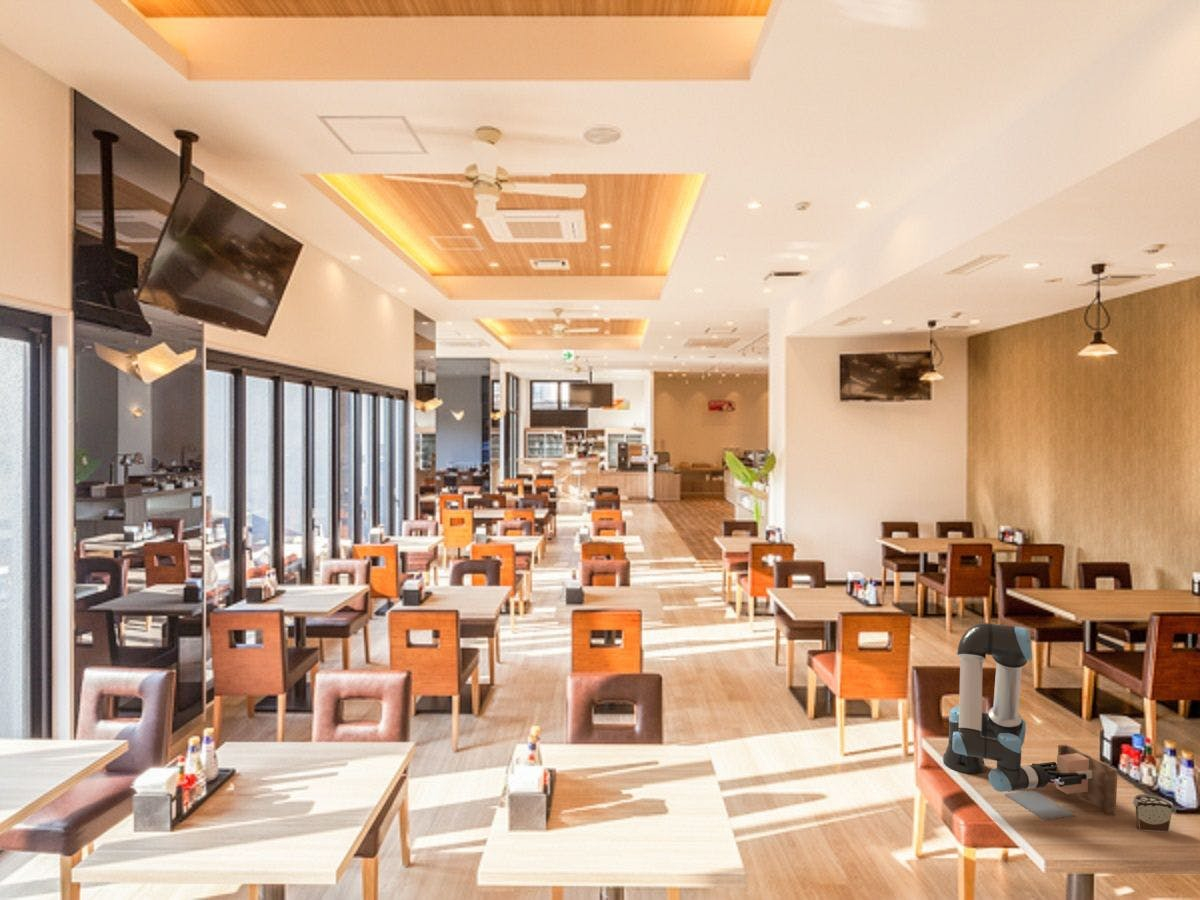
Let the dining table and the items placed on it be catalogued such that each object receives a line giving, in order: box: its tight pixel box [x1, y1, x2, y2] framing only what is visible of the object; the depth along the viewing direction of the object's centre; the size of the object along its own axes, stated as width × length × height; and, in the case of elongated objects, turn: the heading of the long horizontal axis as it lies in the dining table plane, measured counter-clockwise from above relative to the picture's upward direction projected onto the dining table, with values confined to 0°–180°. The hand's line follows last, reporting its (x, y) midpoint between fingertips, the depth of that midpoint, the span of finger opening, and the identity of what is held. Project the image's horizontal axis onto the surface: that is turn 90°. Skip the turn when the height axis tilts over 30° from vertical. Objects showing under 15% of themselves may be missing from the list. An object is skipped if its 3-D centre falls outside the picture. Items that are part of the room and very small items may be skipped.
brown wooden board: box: [1057, 743, 1119, 817], centre depth 281 cm, size 22×4×16 cm, turn 14°
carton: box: [1055, 753, 1089, 795], centre depth 280 cm, size 5×9×12 cm, turn 104°
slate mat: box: [1004, 790, 1076, 820], centre depth 277 cm, size 18×13×1 cm
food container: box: [1132, 793, 1175, 833], centre depth 263 cm, size 12×6×10 cm, turn 84°
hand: (1084, 770), depth 281 cm, fingers closed on carton, 5 cm apart
